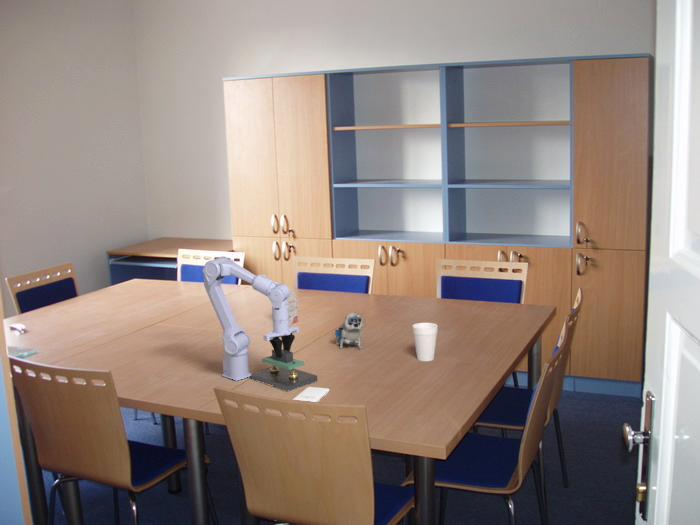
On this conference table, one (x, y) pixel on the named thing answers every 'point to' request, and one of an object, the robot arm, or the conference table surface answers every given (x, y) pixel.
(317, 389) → the external hard drive
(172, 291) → the conference table surface
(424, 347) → the foam cup
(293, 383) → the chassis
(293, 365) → the board
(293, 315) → the ink cartridge box
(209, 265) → the robot arm
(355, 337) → the robotic toy
